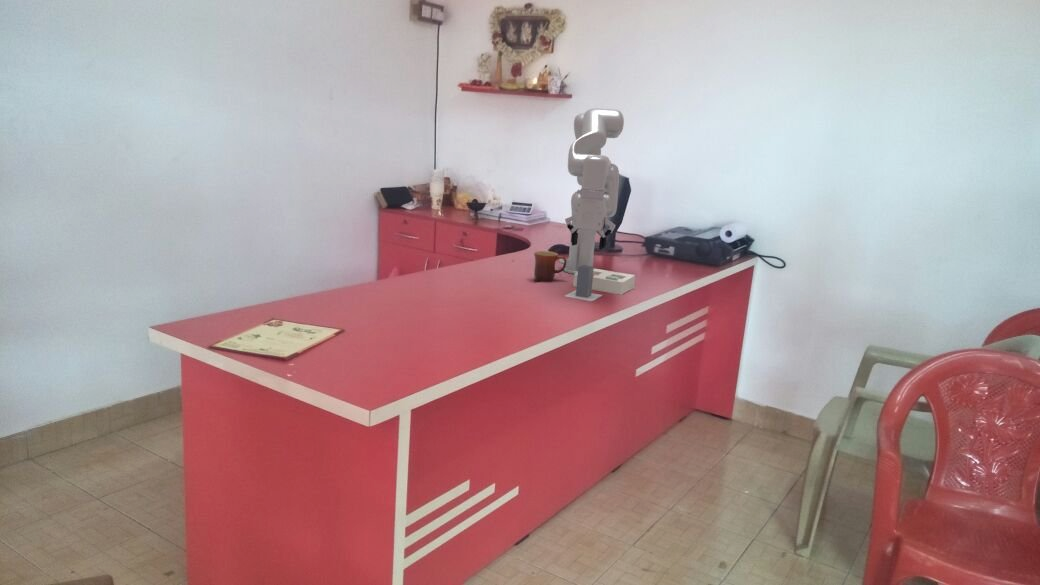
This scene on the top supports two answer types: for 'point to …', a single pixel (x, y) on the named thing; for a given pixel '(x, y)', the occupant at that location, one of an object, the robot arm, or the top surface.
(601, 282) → the socket block
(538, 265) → the mug
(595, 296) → the mat
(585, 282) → the dark grey rectangular prism
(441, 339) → the top surface
